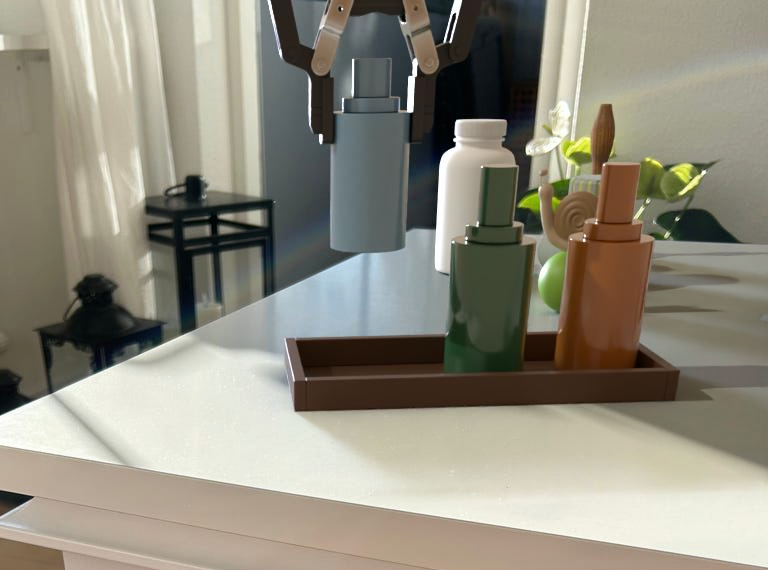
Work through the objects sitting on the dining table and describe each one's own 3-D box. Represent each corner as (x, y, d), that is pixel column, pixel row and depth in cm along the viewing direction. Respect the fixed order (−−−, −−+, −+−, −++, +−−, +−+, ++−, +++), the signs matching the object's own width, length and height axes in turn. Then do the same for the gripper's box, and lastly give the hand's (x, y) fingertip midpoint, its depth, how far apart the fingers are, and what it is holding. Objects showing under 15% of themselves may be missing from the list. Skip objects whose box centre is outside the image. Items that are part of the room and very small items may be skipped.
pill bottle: (491, 263, 117) (503, 116, 110) (517, 275, 111) (531, 120, 103) (425, 266, 116) (432, 118, 109) (446, 279, 109) (456, 122, 102)
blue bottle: (399, 240, 70) (406, 57, 65) (410, 252, 66) (419, 57, 60) (326, 241, 70) (327, 58, 65) (333, 254, 66) (335, 59, 60)
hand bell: (583, 264, 116) (603, 106, 108) (539, 253, 123) (554, 103, 115) (640, 258, 119) (664, 103, 111) (594, 247, 126) (613, 101, 118)
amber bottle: (617, 366, 76) (648, 158, 69) (644, 387, 71) (681, 166, 64) (543, 368, 76) (566, 160, 69) (565, 390, 71) (593, 168, 64)
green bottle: (510, 369, 75) (531, 161, 68) (530, 390, 71) (555, 169, 64) (435, 371, 75) (448, 162, 68) (450, 393, 70) (466, 170, 63)
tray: (615, 366, 79) (621, 329, 77) (673, 411, 69) (680, 370, 67) (284, 375, 78) (284, 337, 76) (294, 422, 68) (294, 380, 66)
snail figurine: (535, 302, 99) (550, 166, 93) (601, 309, 96) (621, 169, 90) (516, 313, 95) (530, 172, 89) (585, 320, 92) (604, 175, 86)
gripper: (251, -214, 53) (259, 150, 61) (525, -214, 53) (496, 146, 62) (248, -185, 59) (255, 141, 68) (492, -185, 60) (469, 137, 68)
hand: (370, 141), depth 65 cm, fingers closed on blue bottle, 5 cm apart
